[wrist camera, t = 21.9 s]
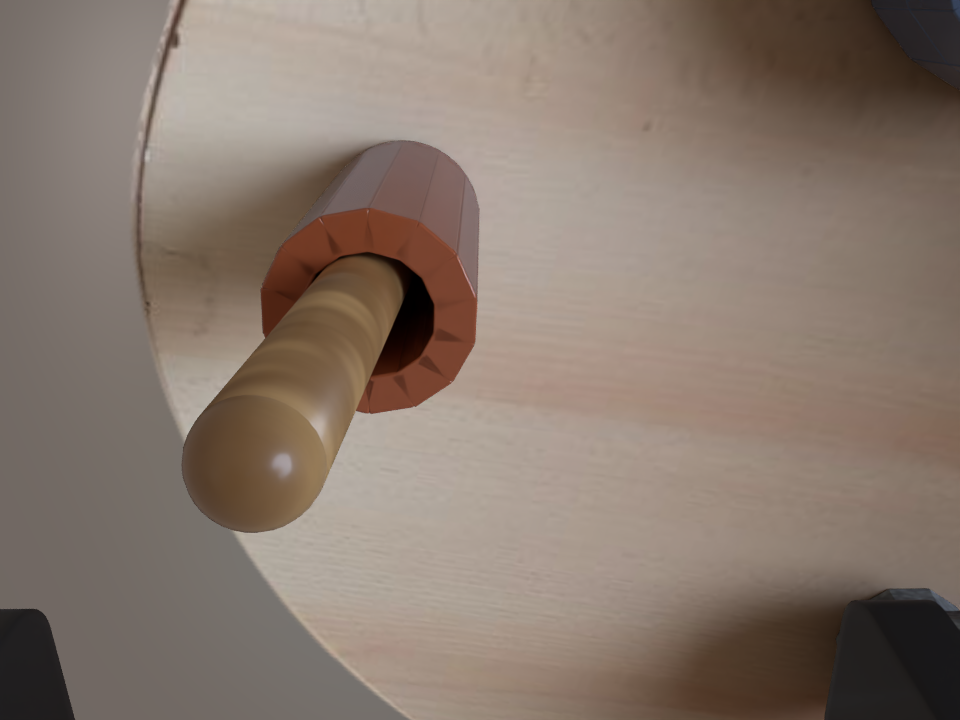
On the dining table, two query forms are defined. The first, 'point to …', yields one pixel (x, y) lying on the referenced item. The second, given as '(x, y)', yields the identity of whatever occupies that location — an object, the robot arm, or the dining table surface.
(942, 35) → the bowl
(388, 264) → the stick
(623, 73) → the dining table surface
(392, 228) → the crock
